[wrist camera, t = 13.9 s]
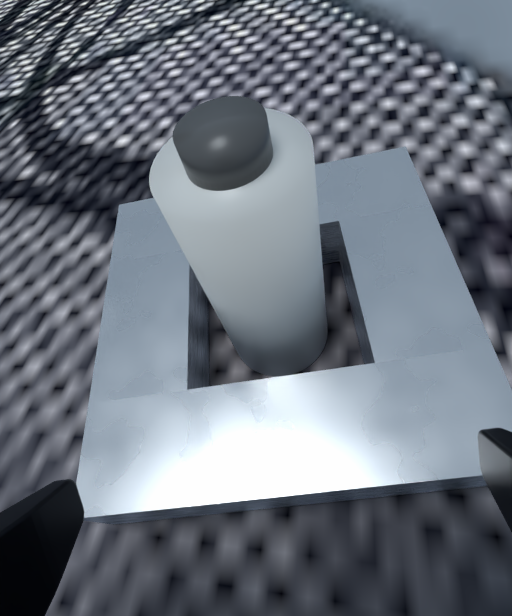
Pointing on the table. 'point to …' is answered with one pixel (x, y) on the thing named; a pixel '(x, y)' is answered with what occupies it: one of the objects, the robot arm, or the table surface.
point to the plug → (249, 227)
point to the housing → (299, 387)
